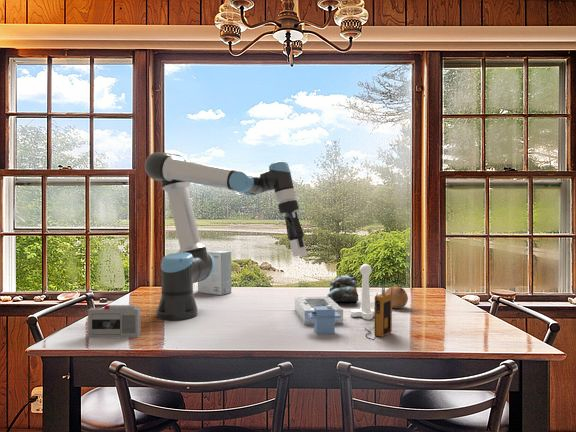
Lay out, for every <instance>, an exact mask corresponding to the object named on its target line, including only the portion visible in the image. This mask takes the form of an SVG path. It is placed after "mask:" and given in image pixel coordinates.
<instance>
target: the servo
mask: <svg viewBox="0 0 576 432" xmlns="http://www.w3.org/2000/svg"><path fill="white" fill-rule="evenodd" d="M308 316H309V317H310V319H314V324H313V331H314V332H315V334H316V333H317V334H316V335H326V334H336V333H335V331H336V329H335V326H336V324H335V318H341V316H340V315H339V314H338V313H337V312H335V309H334V308H333V307H332V305H327V306H321V307H314V311H312V313H308Z"/></svg>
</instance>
